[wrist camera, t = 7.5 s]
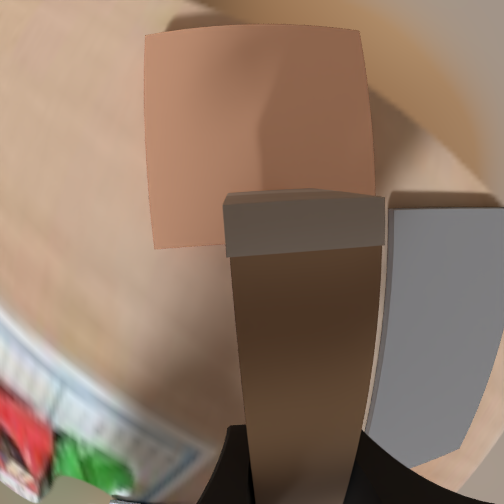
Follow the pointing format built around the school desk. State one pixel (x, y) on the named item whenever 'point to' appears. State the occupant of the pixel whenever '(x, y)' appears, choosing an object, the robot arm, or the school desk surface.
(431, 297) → the mat
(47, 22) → the school desk surface
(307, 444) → the brown block
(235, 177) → the tile
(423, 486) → the robot arm
